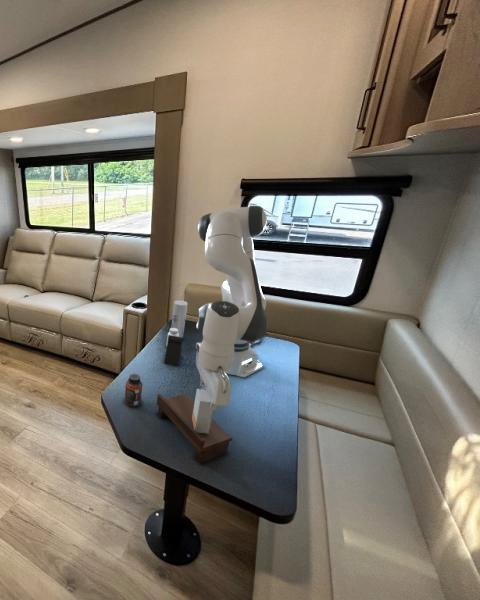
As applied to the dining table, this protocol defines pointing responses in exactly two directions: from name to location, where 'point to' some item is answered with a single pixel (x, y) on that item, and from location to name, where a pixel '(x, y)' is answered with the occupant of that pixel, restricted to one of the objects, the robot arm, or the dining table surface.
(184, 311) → the spray can
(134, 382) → the supplement bottle
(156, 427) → the dining table surface
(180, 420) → the dark wooden riser
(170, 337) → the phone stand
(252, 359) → the robot arm
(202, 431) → the cosmetic box
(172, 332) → the supplement bottle
